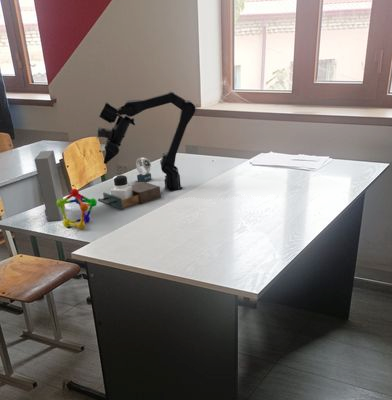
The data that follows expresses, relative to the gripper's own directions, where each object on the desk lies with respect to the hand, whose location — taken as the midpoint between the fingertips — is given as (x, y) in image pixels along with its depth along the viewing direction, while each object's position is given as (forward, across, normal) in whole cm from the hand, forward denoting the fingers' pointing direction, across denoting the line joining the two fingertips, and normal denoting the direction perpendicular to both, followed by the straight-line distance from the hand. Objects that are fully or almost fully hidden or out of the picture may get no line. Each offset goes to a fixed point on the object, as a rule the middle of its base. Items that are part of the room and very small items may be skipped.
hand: (105, 160), depth 229 cm
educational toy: (+18, +40, +1) cm, 43 cm away
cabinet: (+4, +11, +21) cm, 24 cm away
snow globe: (+4, -18, +22) cm, 29 cm away
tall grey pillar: (+24, +25, -9) cm, 36 cm away
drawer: (+9, +18, +13) cm, 24 cm away
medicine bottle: (+9, +17, +14) cm, 24 cm away
